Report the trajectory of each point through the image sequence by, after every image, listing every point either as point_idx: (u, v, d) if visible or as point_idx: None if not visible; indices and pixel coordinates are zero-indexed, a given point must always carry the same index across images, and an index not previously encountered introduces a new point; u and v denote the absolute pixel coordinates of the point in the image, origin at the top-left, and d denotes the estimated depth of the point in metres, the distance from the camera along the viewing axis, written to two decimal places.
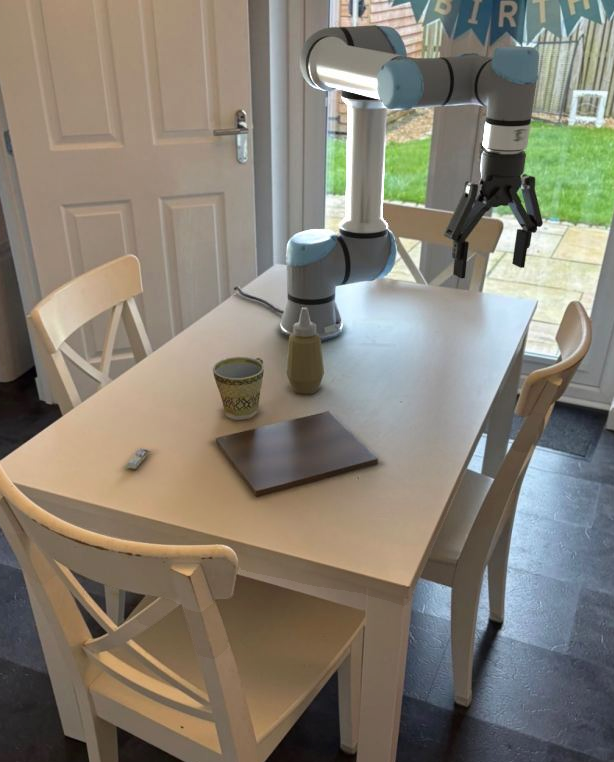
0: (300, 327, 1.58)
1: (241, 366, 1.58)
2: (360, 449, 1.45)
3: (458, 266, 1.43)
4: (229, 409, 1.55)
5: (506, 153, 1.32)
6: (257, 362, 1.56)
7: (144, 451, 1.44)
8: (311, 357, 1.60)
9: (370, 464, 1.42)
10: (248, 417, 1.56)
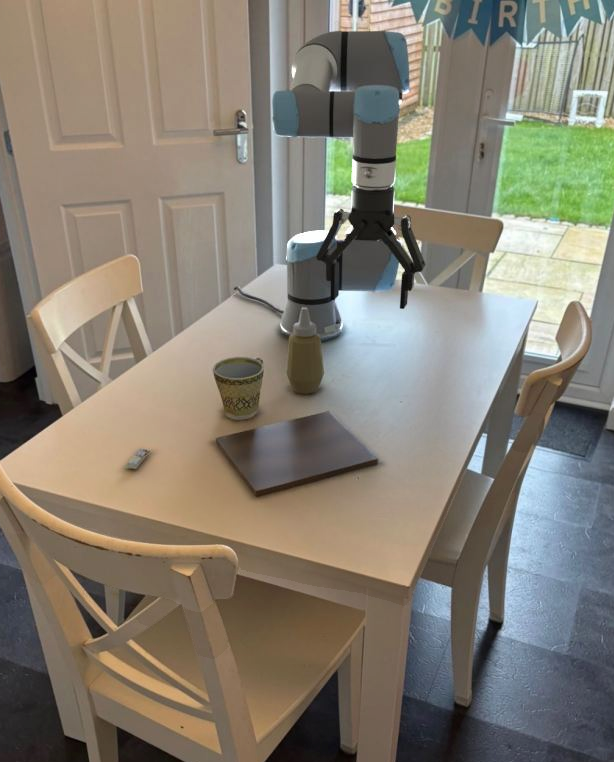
0: (300, 327, 1.58)
1: (241, 366, 1.58)
2: (360, 449, 1.45)
3: None
4: (229, 409, 1.55)
5: (360, 188, 1.35)
6: (257, 362, 1.56)
7: (144, 451, 1.44)
8: (311, 357, 1.60)
9: (370, 464, 1.42)
10: (248, 417, 1.56)
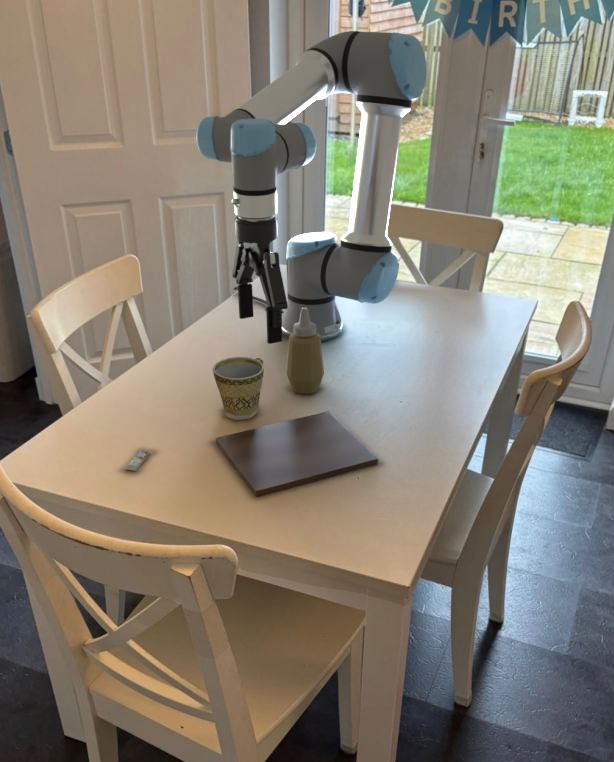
0: (300, 327, 1.58)
1: (241, 366, 1.58)
2: (360, 449, 1.45)
3: None
4: (229, 409, 1.55)
5: None
6: (257, 362, 1.56)
7: (144, 453, 1.44)
8: (311, 357, 1.60)
9: (370, 464, 1.42)
10: (248, 417, 1.56)
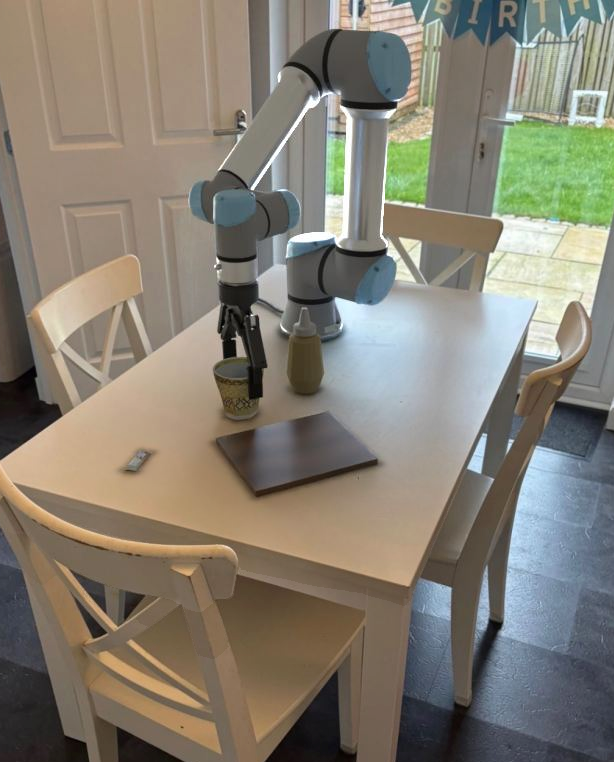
0: (300, 327, 1.58)
1: (241, 366, 1.58)
2: (360, 449, 1.45)
3: None
4: (229, 409, 1.55)
5: None
6: None
7: (144, 453, 1.44)
8: (311, 357, 1.60)
9: (370, 464, 1.42)
10: (248, 417, 1.56)
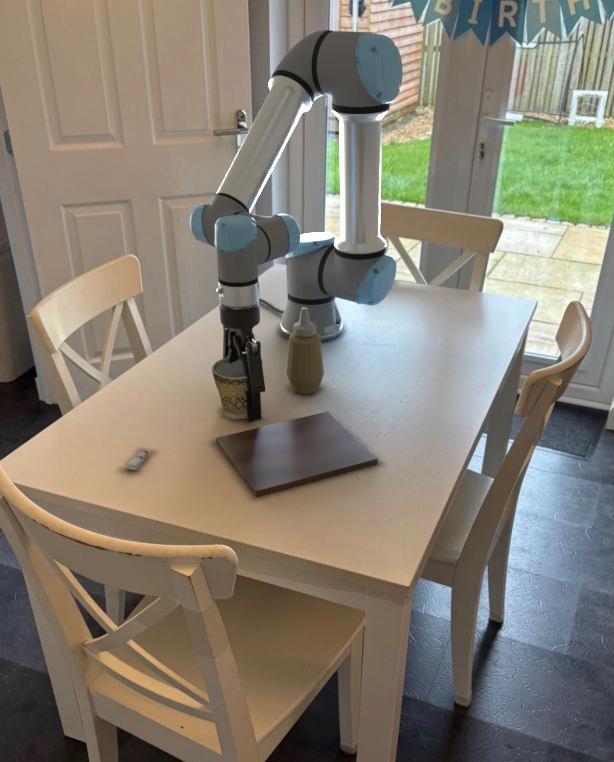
0: (300, 327, 1.58)
1: (240, 365, 1.58)
2: (360, 449, 1.45)
3: None
4: (228, 408, 1.55)
5: None
6: None
7: (144, 452, 1.44)
8: (311, 357, 1.60)
9: (370, 464, 1.42)
10: None
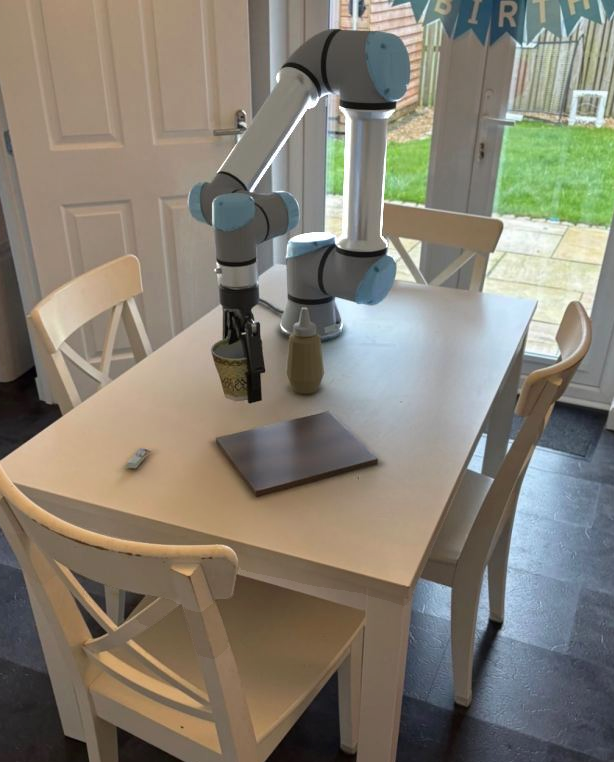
0: (300, 327, 1.58)
1: (240, 346, 1.57)
2: (360, 449, 1.45)
3: None
4: (228, 390, 1.54)
5: None
6: None
7: (144, 451, 1.44)
8: (311, 357, 1.60)
9: (370, 464, 1.42)
10: (247, 398, 1.55)
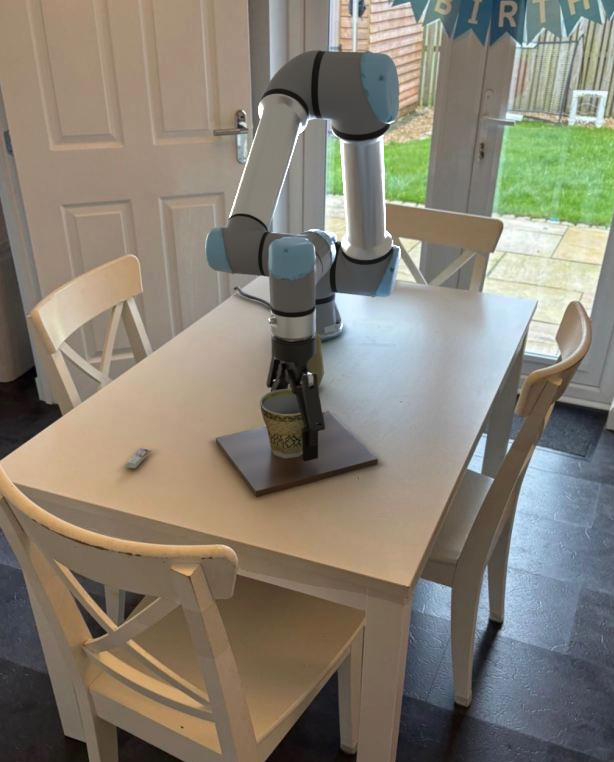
0: None
1: (290, 399, 1.44)
2: (360, 449, 1.45)
3: None
4: (277, 447, 1.41)
5: None
6: None
7: (144, 451, 1.44)
8: None
9: (370, 464, 1.42)
10: (298, 455, 1.42)
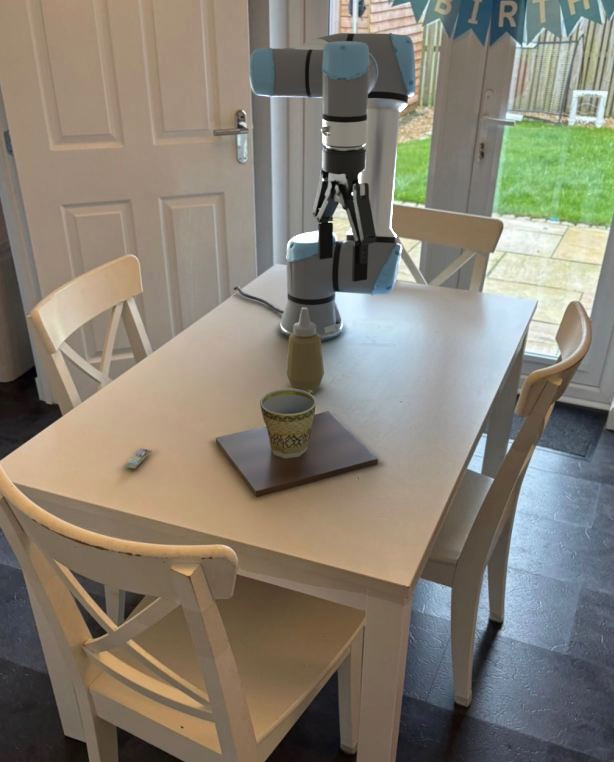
0: (300, 327, 1.58)
1: (290, 399, 1.44)
2: (360, 449, 1.45)
3: None
4: (277, 447, 1.41)
5: None
6: (307, 394, 1.42)
7: (144, 451, 1.44)
8: (311, 357, 1.60)
9: (370, 464, 1.42)
10: (298, 455, 1.42)
